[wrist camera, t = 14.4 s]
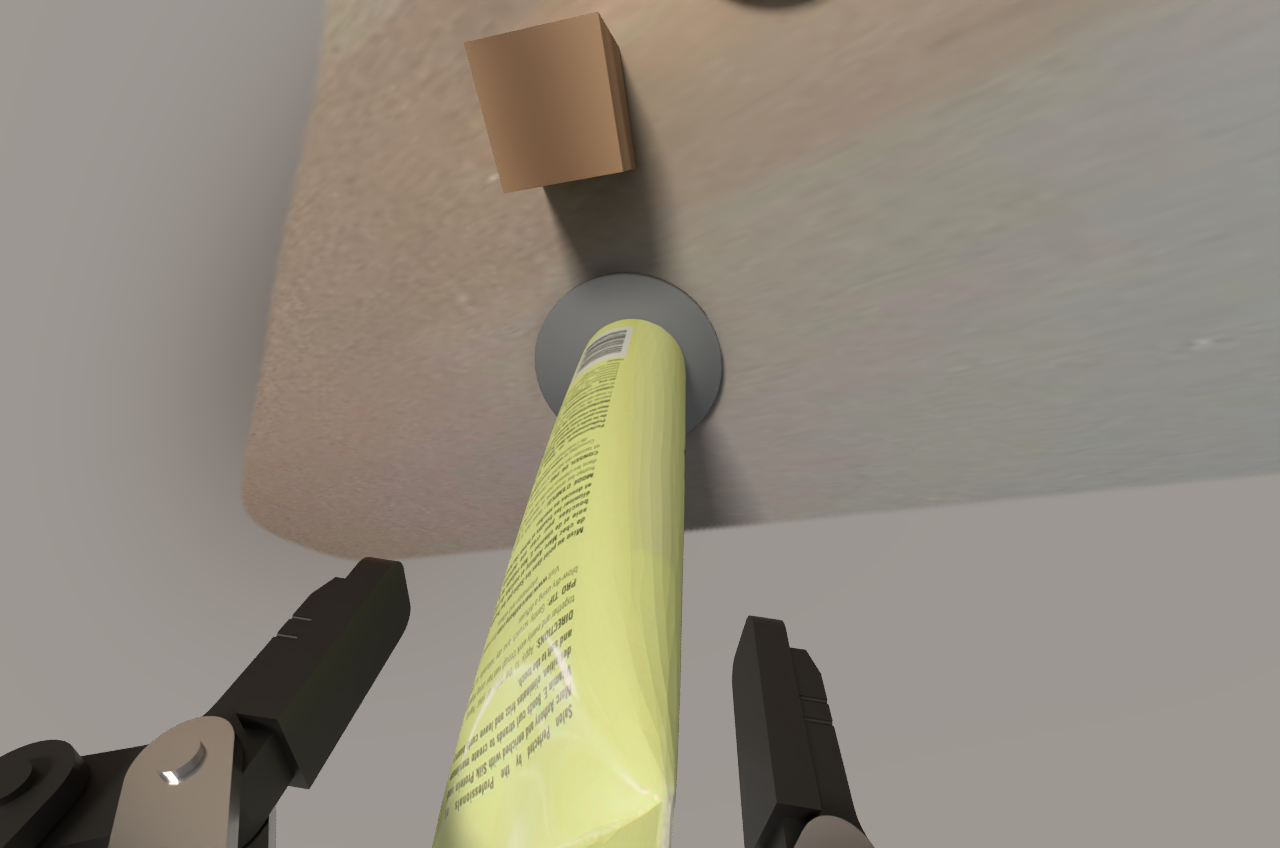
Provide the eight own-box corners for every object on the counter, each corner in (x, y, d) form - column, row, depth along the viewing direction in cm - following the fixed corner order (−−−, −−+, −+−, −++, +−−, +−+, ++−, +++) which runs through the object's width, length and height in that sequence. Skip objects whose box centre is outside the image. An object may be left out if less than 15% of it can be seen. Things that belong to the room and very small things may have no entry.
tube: (691, 420, 24) (705, 1037, 7) (592, 427, 25) (394, 1008, 8) (682, 309, 22) (673, 874, 5) (571, 320, 22) (210, 849, 5)
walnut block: (618, 46, 18) (598, 11, 14) (636, 168, 20) (622, 171, 15) (515, 69, 18) (464, 42, 14) (542, 185, 20) (503, 193, 16)
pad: (738, 286, 22) (739, 289, 21) (703, 455, 26) (703, 461, 25) (538, 259, 22) (535, 262, 21) (537, 432, 26) (534, 438, 26)
